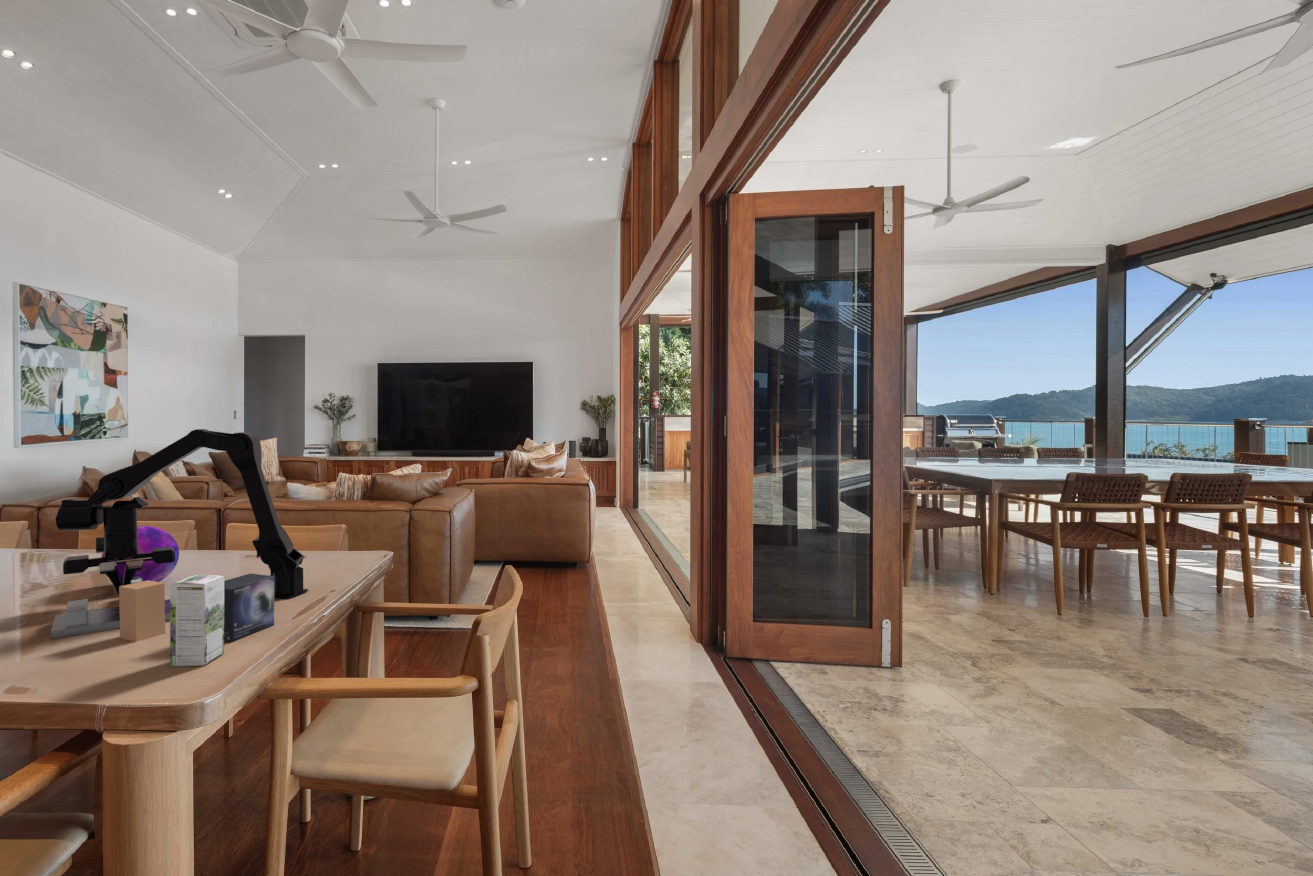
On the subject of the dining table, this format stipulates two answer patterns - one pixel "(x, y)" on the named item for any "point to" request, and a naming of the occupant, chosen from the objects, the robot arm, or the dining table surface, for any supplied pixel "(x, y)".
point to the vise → (89, 619)
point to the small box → (248, 605)
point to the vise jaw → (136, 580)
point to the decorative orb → (146, 542)
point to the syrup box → (196, 620)
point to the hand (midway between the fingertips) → (122, 598)
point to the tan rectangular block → (142, 610)
